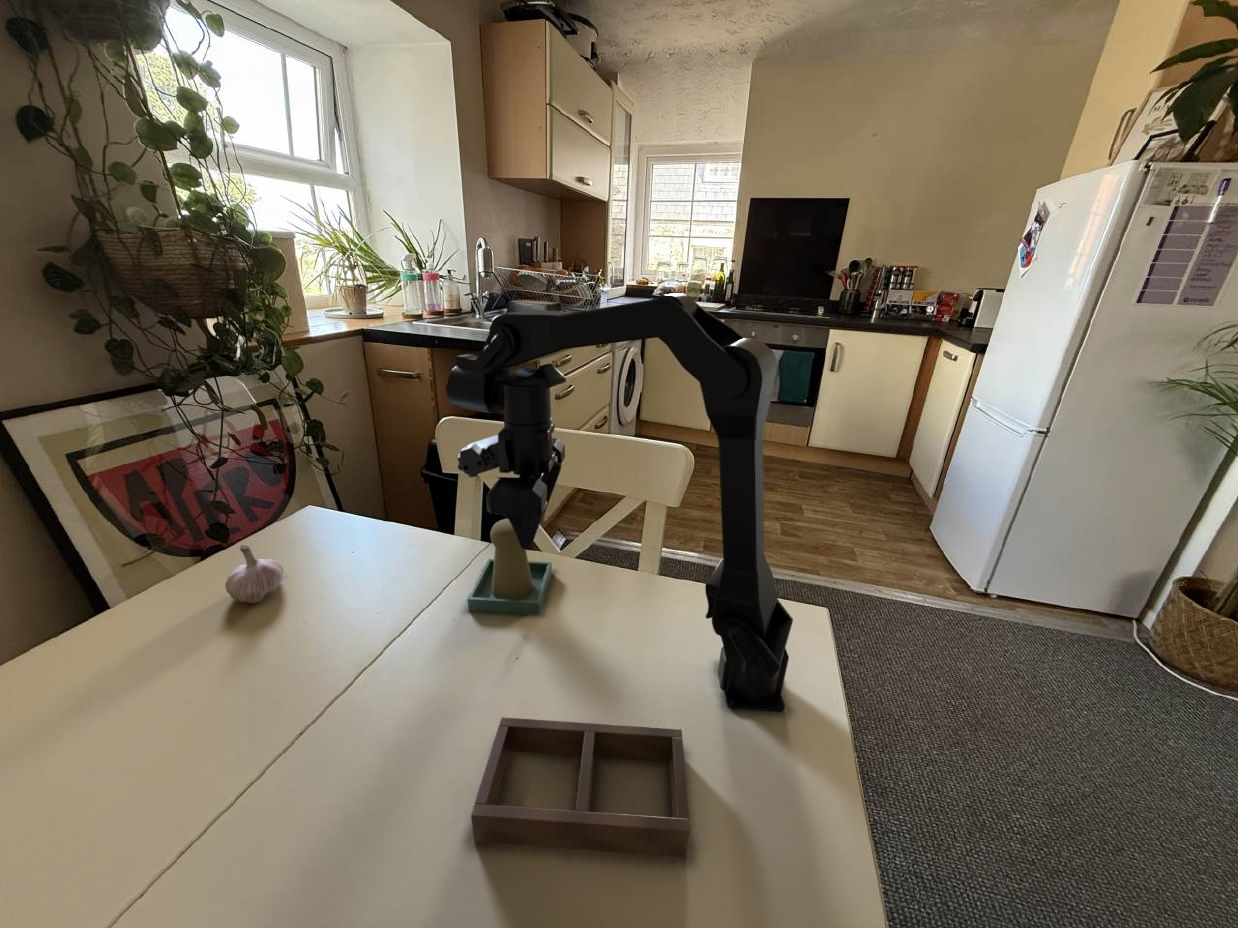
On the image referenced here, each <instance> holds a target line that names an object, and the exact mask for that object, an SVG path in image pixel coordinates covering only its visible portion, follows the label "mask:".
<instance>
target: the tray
mask: <svg viewBox="0 0 1238 928" xmlns="http://www.w3.org/2000/svg"><path fill="white" fill-rule="evenodd" d="M528 563H529V568H530V573H531V578H532V583H533V590H532V592H531V593H530V594H529V595H528V596H527V597H525V598H524V599H521V600H511V599H497V598H495V597H494V596H493V594H492V580H493V567H494V558H488V559H487V561H486V562H485V565H484V566H483V569H482V570H481V572H480V574H479V576H478V578H477V580H476V582H475V584H474V586H473V587H472V589H471V592H470V593H469V595H468V597H467V609H468V611H469V612H483V613H484V612H485V613H499V614H501V613H502V614H517V615H518V614H519V615H533V616H534V615H535V616H540V615H541V612H542V609H543V605H544V601H545V597H546V595H547V591H548V588H549V584H550V580H551V577H552V575H553V562H551V561H549V562H548V561H536V560H533V561H532V560H528Z"/></svg>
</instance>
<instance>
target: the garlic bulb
mask: <svg viewBox="0 0 1238 928" xmlns="http://www.w3.org/2000/svg"><path fill="white" fill-rule="evenodd" d="M239 550H240V552H241V553H242V554H243V556H244V559H245V562H246V563H245V564H240V565H238V566H237V567H236V568H234V569H233V570H231V572H229V574H228V576H227V579H226V581H225V583H224V584H225V587H224V588H225V590H226V592H227V593H228V594H229V596H230V598H231V599H233V600H234V601H236V602H241V603H242V602H246V603H248V604H255V603H256V604H257V603H259V602H260V601H262V600H263V598H264V597H265V595H266V594H267V593H270V592H272V591H274V590H275V589H277V588H278V587H279V586H280V585H281V582H282V580H283V576H284V572H285V569H284V566H283V565H282V563H281V562H279V561H278V560H274V559H262V558H258V559H257V558H256V557H255V555H254V553H253V552H252V550H251V547H250V546H249V545H248V544H245V543H244V544H240V546H239Z"/></svg>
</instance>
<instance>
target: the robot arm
mask: <svg viewBox="0 0 1238 928" xmlns="http://www.w3.org/2000/svg"><path fill="white" fill-rule="evenodd" d="M647 339H659V340H660V341H661V342H662V343H664V344H665V345H666V346H667V348H668V349H669V351H670V352H671V354H673V356H674V357H675V359H676V360H677V361H678V363H679V364H680V366H681V367H682V368H683V369H684V370H685V371H686V373H687V372H688V374H690V375H691V376H692V377H693V378H694V379H695V380H697V382H699V387H700V391H701V395H702V401H703V405H704V409H705V413H706V416H707V419H708V421H709V423H710V425H711V427H712V429H713V432H714V433H715V436H716V438H717V443H718V462H719V463H718V464H719V465H718V466H719V489H720V491H719V492H720V513H721V539H722V558H721V559H719V561H718V563H717V565H716V567H715V568H714V570H713V571H712V573H711V575H710V577H709V578H708V580H707V581H706V583H705V586H704V587H705V589H704V590H705V595H706V596H705V597H706V599H707V600H706V601H707V612H706V614H705V619H707V620H709V619H711V625H712V629H713V631H714V633H715V634H716V635H717V636H719V637H720V639H721V642H722V645H723V646H722V647H721V648H720V654H719V662H718V669H717V676H718V681H719V687H720V690H721V691H723V694H724V700H725V705H726V706H727V707H728V708H729V709H740V710H741V709H742V710H756V711H769V712H770V711H772V712H783V711H784V710H785V708H786V704H785V701H784V698H783V695H782V691H783V687H784V683H785V677H786V673H787V669H788V665H789V661H790V660H789V659H790V656H789V654H788V651H787V648H786V647H787V643H788V639H789V636H790V632H791V630H792V626H793V623H794V618H793V617H792V616H791V614H790V613H789V612H788V610H787V609H786V608H785V607H784V606H783V604H782V603H781V602H780V600H779V599H778V594H777V593H778V592H777V588H776V583H775V579H774V574H773V570H772V569H771V566H770V565H769V562H768V561H767V559H766V556H765V519H764V518H765V517H764V516H765V514H764V511H765V507H764V504H765V503H764V429H765V425H766V421H767V418H768V413H769V411H770V406H771V402H772V398H773V393H774V386H775V382H776V376H777V369H778V364H777V357H776V355H775V353H774V351H773V350H772V349H771V348H770V347H769V346H768V345H767V344H766V343H765V342H763V341H761V340H758V339H756V338H752V337H751V338H750V337H744V336H743V335H742V334H741V333H740V332H739V331H737V330H736V329H735V328H734V327H732V326H730V325H729V324H727V323H726V322H725V321H723V320H721V319H720V318H718V317H716V316H715V315H713V314H712V313H710V312H709V311H707V310H705V309H704V308H703V307H702V306H701V305H700V304H698V303H697V302H696V301H695V300H694V299H693V298H692V297H691V296H690V295H687V294H685V293H682V292H681V293H679V292H678V293H676V292H675V293H668V294H667V293H666V294H662V295H658V296H657V297H655V298H652V299H648V300H641V301H635V302H630V303H624V304H618V305H610V306H606V307H599V308H593V309H588V310H582V311H581V310H580V311H575V312H568V311H567V312H566V311H559V310H545V309H544V310H543V309H532V310H523V311H514V312H505V313H500V314H499V313H498V315H495V316H494V317H493V318H492V319H491V324H490V326H489V330H488V335H487V338H486V340H485V341H484V344H483V345H482V347H481V349H480V351H479V353H478V355H475V354H470V353H465V354H459V355H457V356H455V366H454V367H453V368H452V369H451V371H450V372H449V375H448V378H447V381H446V384H445V392H446V396H447V398H448V400H449V402H450V403H451V404H452V405H453V406H455V407H457V408H462V409H466V410H473V411H476V412H477V411H478V412H483V413H488V414H498V413H500V412H501V411H502V414H503V428H502V429H501V430H500V431H499V432H498V434H495V435H492V436H489V437H488V436H487V437H486V438H483V439H479V440H476V441H474V442H471V443H469V444H468V445H467V446H464V447H463V448H462V449H460V451H459V453H458V455H457V456H458V457H457V461H458V465H457V469H458V470H459V471H461V472H463V473H464V474H465V475H467V476H468V478H475V477H478V475H479V474H483V473H486V472H489V471H492V470H496V469H497V468H498V471H499V474H509V473H512V472H513V475H516V476H518V477H515V476H514V477H511V476H510V477H509V476H501V477H500V478H499V479H498V480H497V481H496V482H495V483H493V485H492V487H491V488H490V489H489V491H488V492H487V494H486V496H485V499H486V500H485V501H486V511H487V512H489V513H490V514H495V515H498V516H503V517H505V518H506V519H508V520H509V521H510V523H511V525H512V527H513V530H514V532H515V534H516V537H517V539H518V541H519V543H520V546H521V548H522V549H526V550H531V548H532V546H533V542H534V540H535V538H536V535H537V532H538V530H539V526H540V525H541V521H542V519H543V516H544V515H545V513H546V512H547V508H548V505H549V503H550V501H551V497H552V495H553V492H554V490H555V487H556V484H557V481H558V480H559V476H560V473H561V470H562V468H563V465H564V460H565V458H566V444H565V443H564V442H563V441H561V439H560V438H555V437H553V434H554V433H553V432H554V431H555V429H556V427H555V421H553V420H552V403H551V401H552V399H551V398H552V397H551V388H553V387H556V386H559V385H563V384H564V383H566V382H567V378H566V376H565V375H563V373H561V371H559V370H558V369H557V368H556V367H555V365H554V364H553V362H549V363H545V364H542V365H539V367H538V368H536V367H528V366H522V365H526V364H528V363H533V362H537V361H540V360H544V359H547V358H550V357H553V356H556V355H559V354H561V353H564V352H567V351H569V350H572V349H577V348H578V349H579V348H585V347H594V346H600V345H608V344H616V343H625V342H631V341H640V340H641V341H642V340H647ZM518 366H521V367H519V368H517V369H515V370H514V371H511V368H514V367H518Z"/></svg>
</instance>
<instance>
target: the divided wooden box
mask: <svg viewBox="0 0 1238 928" xmlns="http://www.w3.org/2000/svg"><path fill="white" fill-rule="evenodd" d="M683 739H684V738H683V730H682V728H673V727H672V728H671V727H656V726H639V725H625V724H609V723H595V722H577V721H565V720H564V721H563V720H548V719H532V718H518V717H517V718H516V717H502V716H501V717H500V720H499V723H498V727H497V729H496V733H495V736H494V740H493V742H492V746H491V749H490V753H489V756H488V758H487V762H486V765H485V769H484V771H483V775H482V779H481V782H480V784H479V788H478V791H477V795H476V797H475V801H474V805H473V807H472V810H471V814H470V818H471V819H470V820H471V827H472V835H473V842H474V843H479V844H480V843H482V844H496V845H509V846H523V847H535V848H537V847H538V848H550V849H564V850H565V849H566V850H579V851H592V852H607V853H619V854H620V853H623V854H634V855H649V856H660V857H661V856H662V857H677V858H687V855H688V850H689V849H688V848H689V841H690V834H691V825H690V815H689V814H690V813H689V812H690V811H689V801H688V789H687V787H688V786H687V776H686V765H685V752H684V740H683ZM511 752H520V753H521V752H522V753H533V754H534V753H535V754H537V753H538V754H550V755H551V754H552V755H564V756H580V757H581V760H580V769H579V777H578V785H577V795H576V801H575V809H574V810H568V809H567V810H566V809H552V808H539V807H538V808H536V807H523V806H511V805H497V801H498V798H499V794H500V791H501V788H502V787H501V786H502V783H503V779H504V775H505V772H506V768H507V764H508V761H509V757H510V754H511ZM595 758H611V759H625V760H641V761H655V762H669V774H670V775H669V778H670V779H669V780H670V795H671V797H670V799H671V815H672V816H671V817H669V816H668V817H667V816H655V815H653V816H652V815H641V814H640V815H639V814H625V813H624V814H623V813H611V812H610V813H609V812H595V811H590V809H591V796H592V788H593V779H594V778H593V776H594V767H595Z"/></svg>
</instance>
